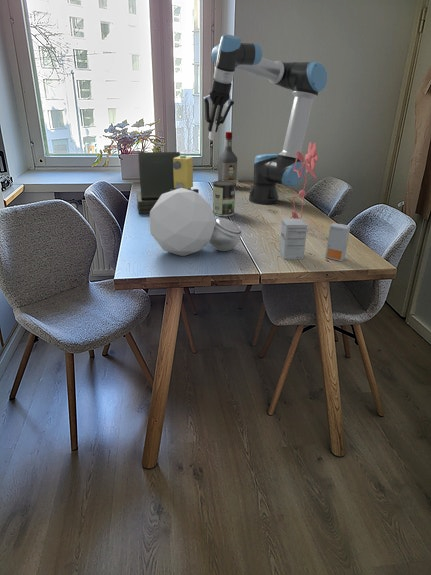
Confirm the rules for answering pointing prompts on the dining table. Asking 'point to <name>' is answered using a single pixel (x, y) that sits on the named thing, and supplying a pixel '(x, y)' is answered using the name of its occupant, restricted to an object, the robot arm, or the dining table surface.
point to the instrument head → (183, 171)
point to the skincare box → (337, 241)
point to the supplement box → (293, 238)
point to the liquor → (227, 162)
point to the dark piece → (154, 178)
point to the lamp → (190, 224)
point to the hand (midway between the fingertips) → (210, 138)
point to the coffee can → (223, 198)
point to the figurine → (310, 167)
